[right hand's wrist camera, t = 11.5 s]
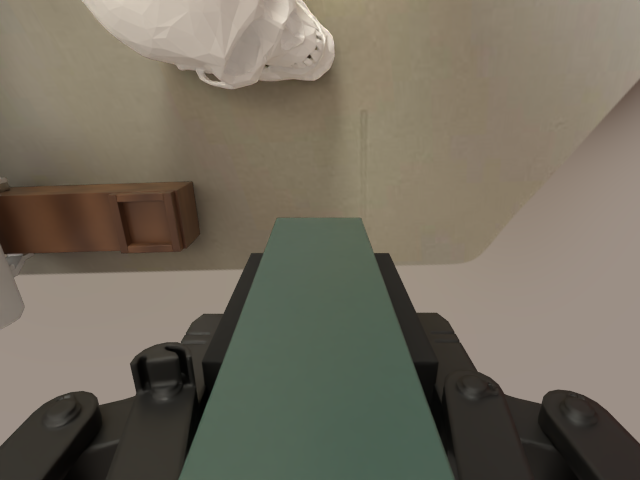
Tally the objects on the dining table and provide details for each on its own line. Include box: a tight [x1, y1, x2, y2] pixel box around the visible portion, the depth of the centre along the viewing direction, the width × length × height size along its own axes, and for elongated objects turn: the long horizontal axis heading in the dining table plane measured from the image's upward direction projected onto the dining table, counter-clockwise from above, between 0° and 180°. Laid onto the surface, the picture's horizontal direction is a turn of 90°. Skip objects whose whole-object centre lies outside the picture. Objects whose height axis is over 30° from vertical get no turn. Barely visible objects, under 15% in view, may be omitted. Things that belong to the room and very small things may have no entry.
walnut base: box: [0, 181, 200, 254], centre depth 41 cm, size 24×6×6 cm, turn 92°
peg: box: [178, 218, 455, 480], centre depth 11 cm, size 4×4×14 cm
